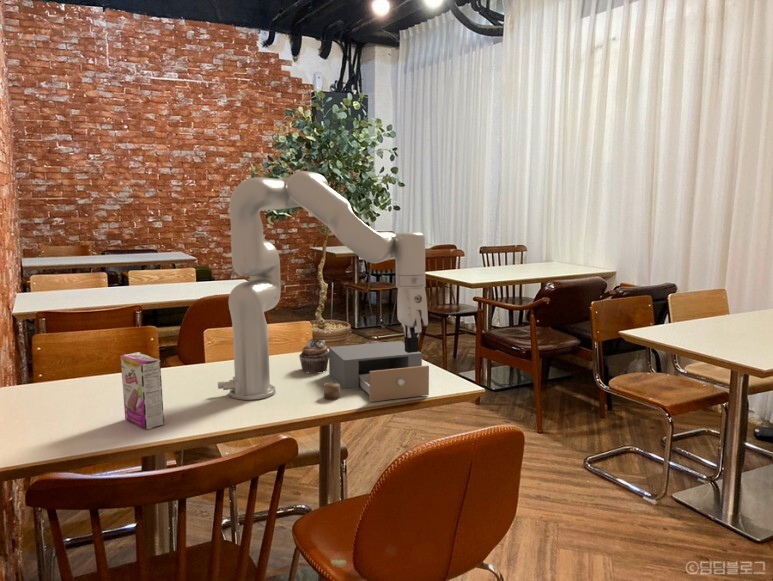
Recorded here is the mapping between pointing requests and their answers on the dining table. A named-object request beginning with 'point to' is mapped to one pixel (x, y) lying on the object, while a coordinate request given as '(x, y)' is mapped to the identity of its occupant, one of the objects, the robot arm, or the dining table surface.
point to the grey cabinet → (368, 361)
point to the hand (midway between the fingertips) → (411, 351)
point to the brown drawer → (396, 383)
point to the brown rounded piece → (331, 391)
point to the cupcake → (314, 356)
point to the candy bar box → (142, 390)
